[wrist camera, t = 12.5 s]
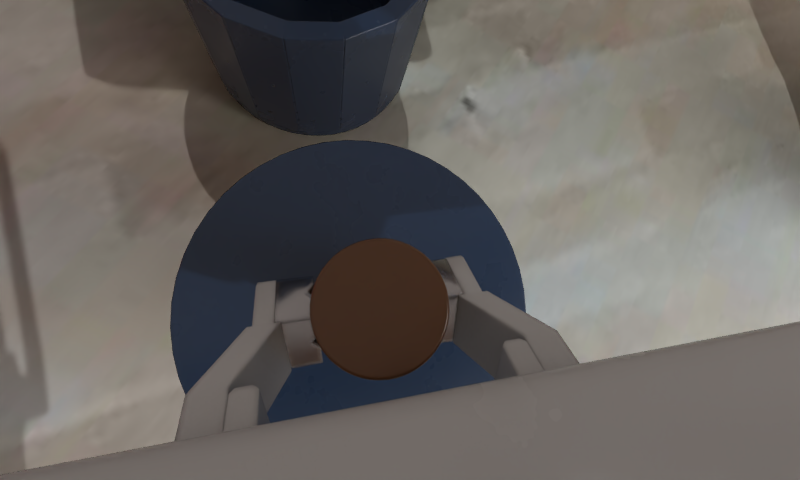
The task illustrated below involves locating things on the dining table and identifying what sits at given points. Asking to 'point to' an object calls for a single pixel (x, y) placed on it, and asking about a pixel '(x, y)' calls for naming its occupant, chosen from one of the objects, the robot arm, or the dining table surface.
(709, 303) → the dining table surface
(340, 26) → the pot
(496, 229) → the lid
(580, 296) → the dining table surface
